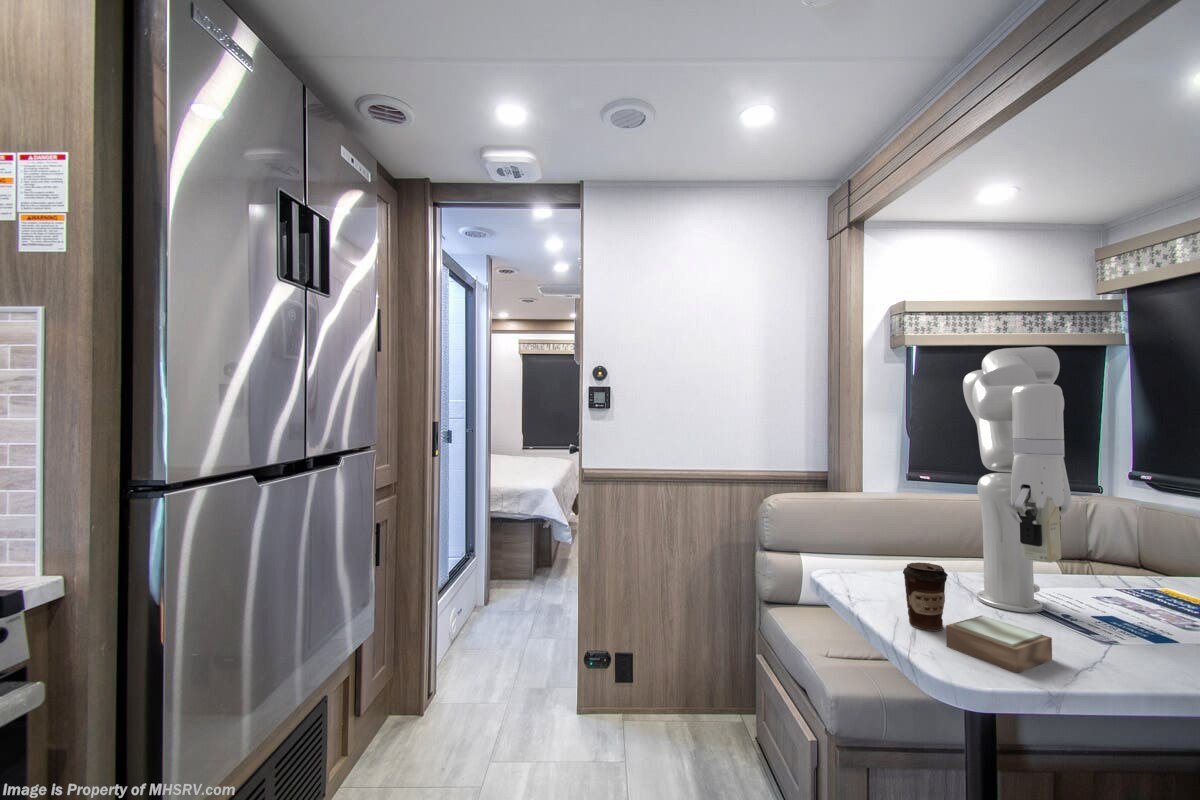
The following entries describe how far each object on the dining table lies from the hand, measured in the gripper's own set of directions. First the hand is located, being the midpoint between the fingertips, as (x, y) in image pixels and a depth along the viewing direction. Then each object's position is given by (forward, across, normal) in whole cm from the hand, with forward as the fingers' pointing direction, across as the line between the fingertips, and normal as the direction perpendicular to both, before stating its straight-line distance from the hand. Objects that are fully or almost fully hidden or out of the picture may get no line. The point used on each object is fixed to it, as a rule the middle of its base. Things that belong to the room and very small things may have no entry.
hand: (1040, 541), depth 99 cm
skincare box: (+3, 0, 0) cm, 3 cm away
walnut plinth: (+22, +6, -5) cm, 23 cm away
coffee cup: (+22, +5, -19) cm, 29 cm away
